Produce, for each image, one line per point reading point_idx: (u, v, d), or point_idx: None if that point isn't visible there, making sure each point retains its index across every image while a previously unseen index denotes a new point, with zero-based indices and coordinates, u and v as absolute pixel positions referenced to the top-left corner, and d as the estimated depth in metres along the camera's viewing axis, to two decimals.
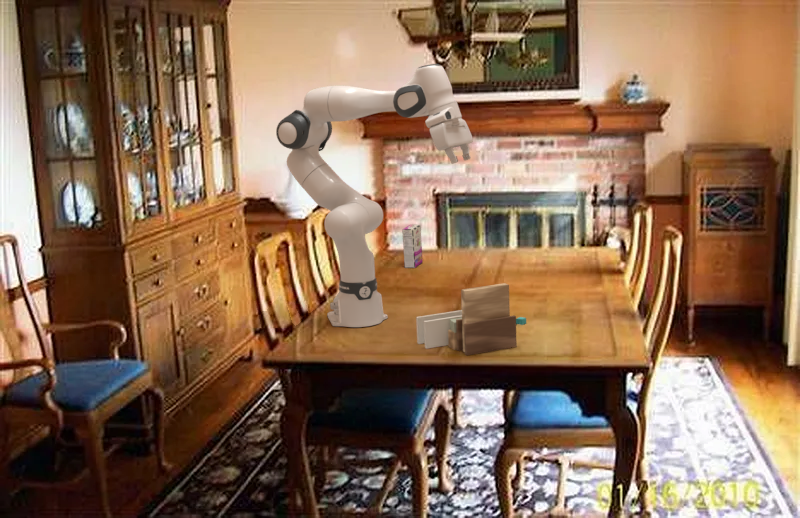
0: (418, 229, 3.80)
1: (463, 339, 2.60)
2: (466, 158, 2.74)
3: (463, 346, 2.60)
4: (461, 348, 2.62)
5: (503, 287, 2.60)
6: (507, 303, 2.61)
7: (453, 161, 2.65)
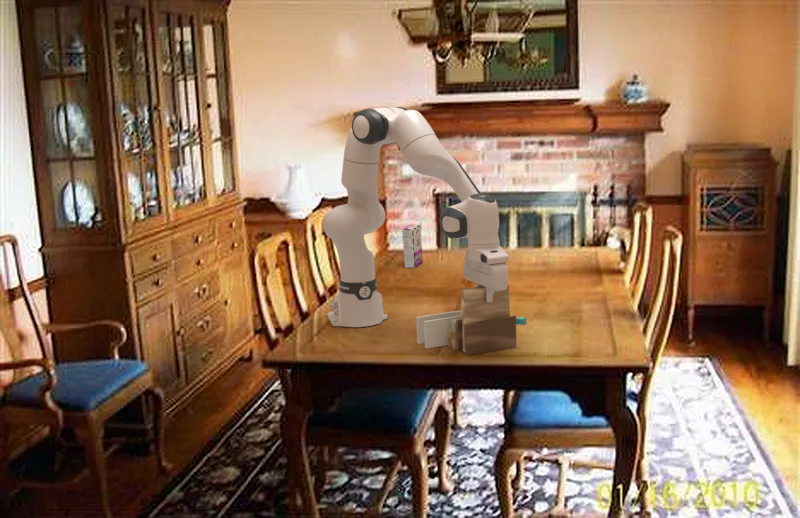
0: (418, 229, 3.80)
1: (463, 339, 2.60)
2: None
3: (463, 346, 2.60)
4: (461, 348, 2.62)
5: None
6: (507, 303, 2.61)
7: (489, 300, 2.57)
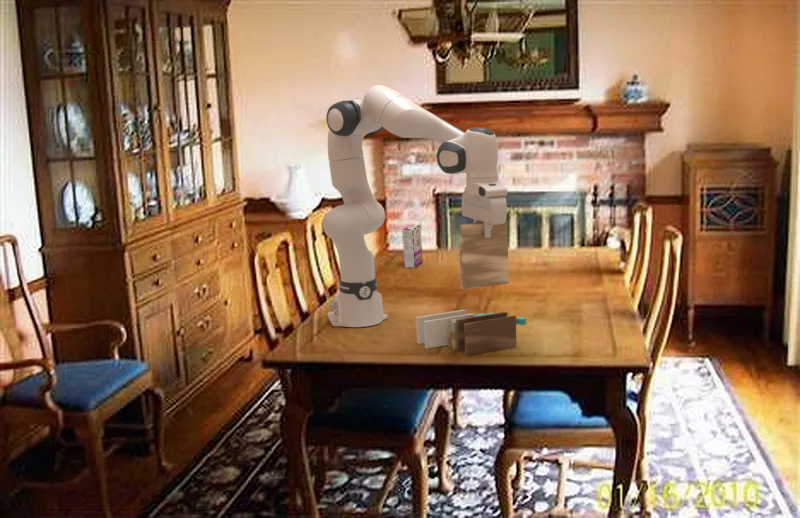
0: (418, 229, 3.80)
1: (461, 275, 2.56)
2: None
3: (461, 283, 2.57)
4: (461, 348, 2.62)
5: None
6: (505, 239, 2.58)
7: (487, 235, 2.54)
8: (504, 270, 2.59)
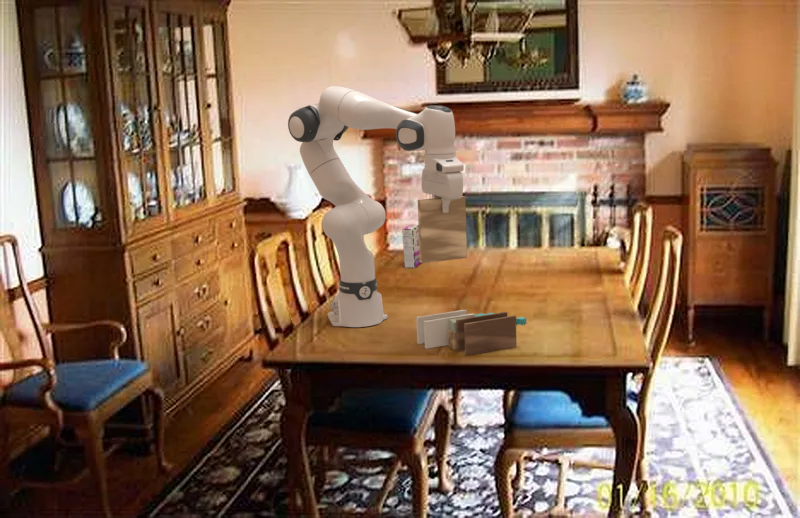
0: (418, 229, 3.80)
1: (420, 250, 2.63)
2: None
3: (420, 257, 2.64)
4: (461, 348, 2.62)
5: (459, 199, 2.63)
6: (463, 215, 2.65)
7: (445, 210, 2.61)
8: (462, 245, 2.66)
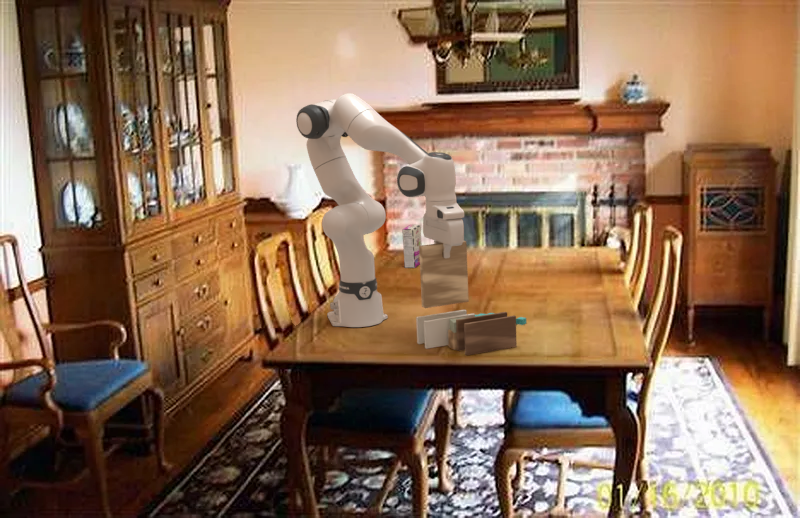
0: (418, 229, 3.80)
1: (422, 294, 2.66)
2: None
3: (422, 301, 2.66)
4: (461, 348, 2.62)
5: None
6: (465, 259, 2.67)
7: (447, 256, 2.63)
8: (464, 289, 2.69)
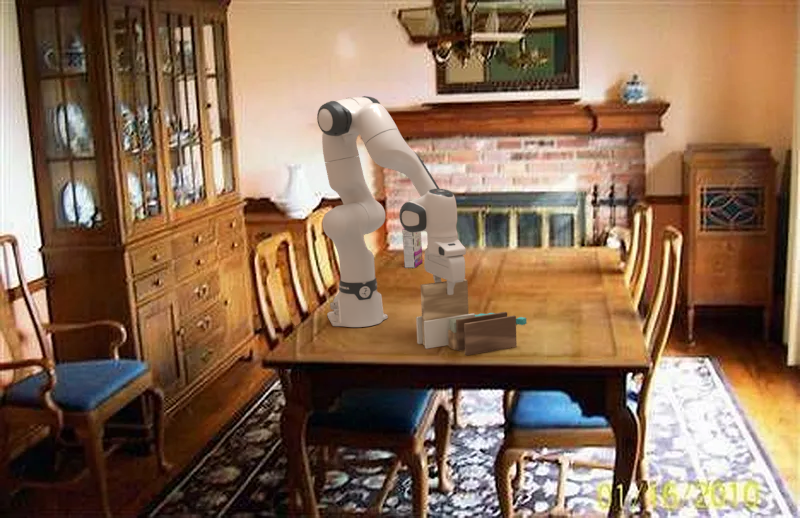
0: None
1: (423, 333, 2.68)
2: None
3: (423, 339, 2.69)
4: (461, 348, 2.62)
5: (462, 282, 2.68)
6: (466, 298, 2.70)
7: (450, 293, 2.64)
8: None
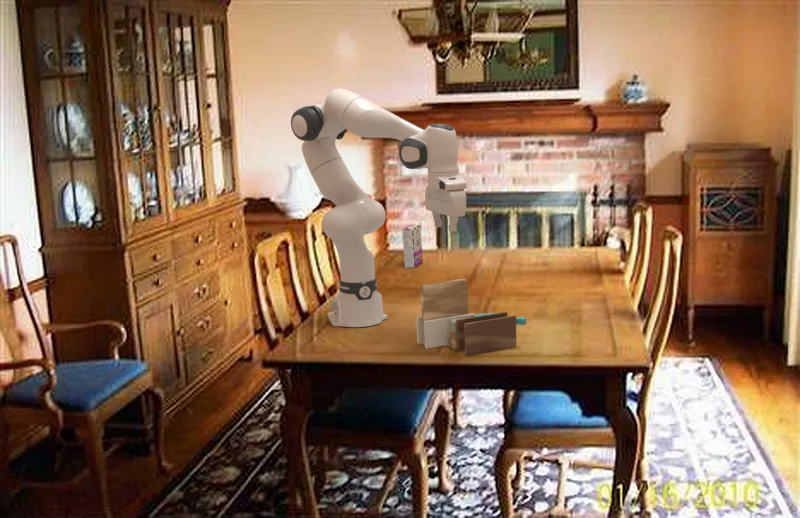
0: (418, 229, 3.80)
1: (423, 333, 2.68)
2: (439, 225, 2.68)
3: (423, 339, 2.69)
4: (461, 348, 2.62)
5: (462, 282, 2.68)
6: (466, 298, 2.70)
7: (453, 229, 2.59)
8: None
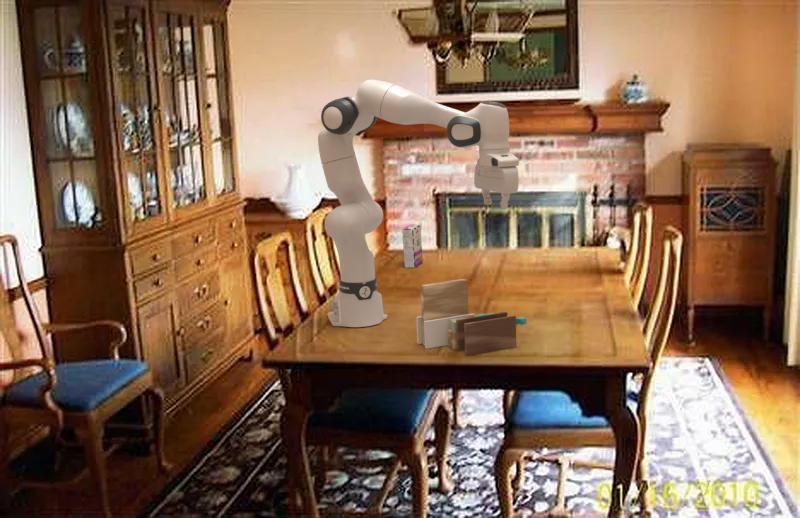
0: (418, 229, 3.80)
1: (423, 333, 2.68)
2: (489, 203, 2.70)
3: (423, 339, 2.69)
4: (461, 348, 2.62)
5: (462, 282, 2.68)
6: (466, 298, 2.70)
7: (505, 206, 2.61)
8: None
